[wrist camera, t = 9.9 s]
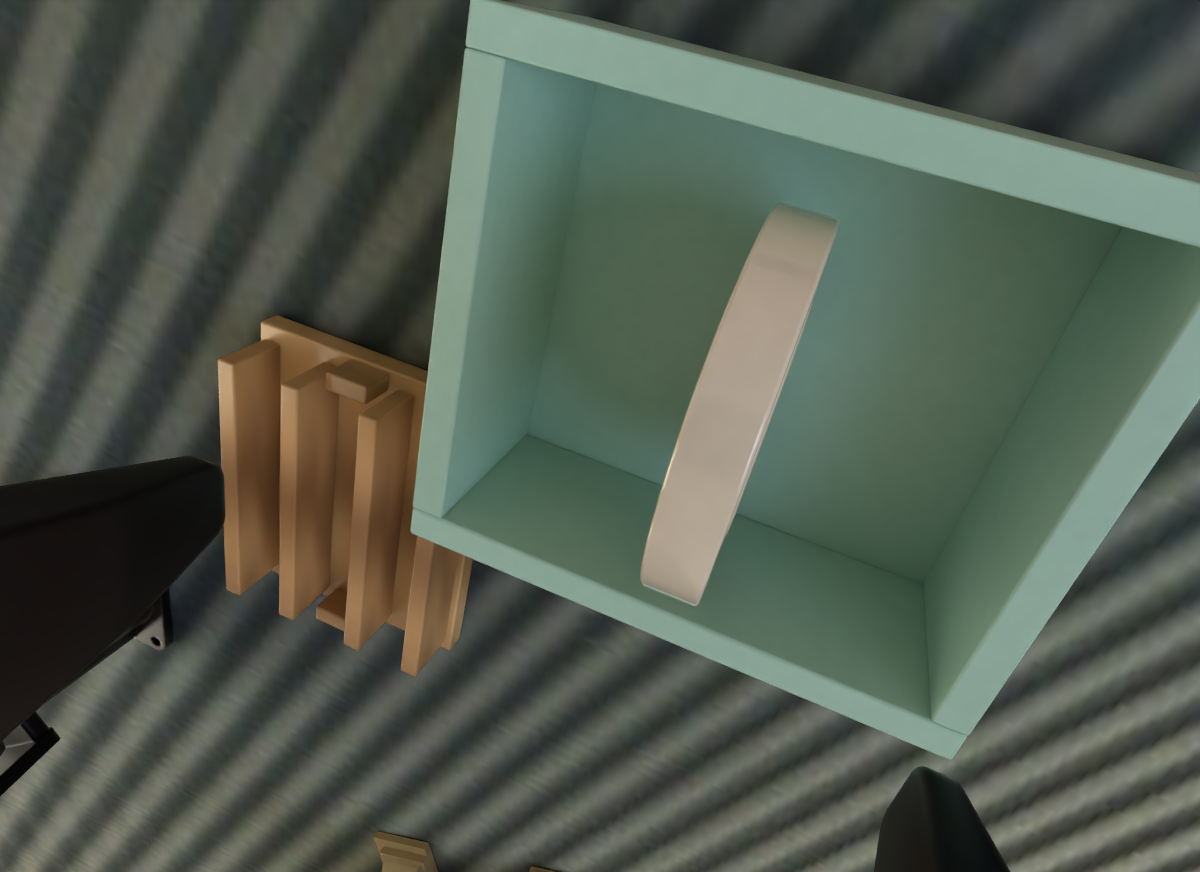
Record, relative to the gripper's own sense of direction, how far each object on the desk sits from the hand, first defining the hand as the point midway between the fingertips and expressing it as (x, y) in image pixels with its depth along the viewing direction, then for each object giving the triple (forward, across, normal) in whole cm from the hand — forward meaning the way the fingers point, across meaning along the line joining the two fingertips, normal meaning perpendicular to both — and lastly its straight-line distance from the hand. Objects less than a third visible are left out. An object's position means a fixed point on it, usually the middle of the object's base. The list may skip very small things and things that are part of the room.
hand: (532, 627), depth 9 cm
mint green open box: (+12, -1, 0) cm, 12 cm away
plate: (+12, -1, 0) cm, 12 cm away
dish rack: (+12, +10, +9) cm, 18 cm away
